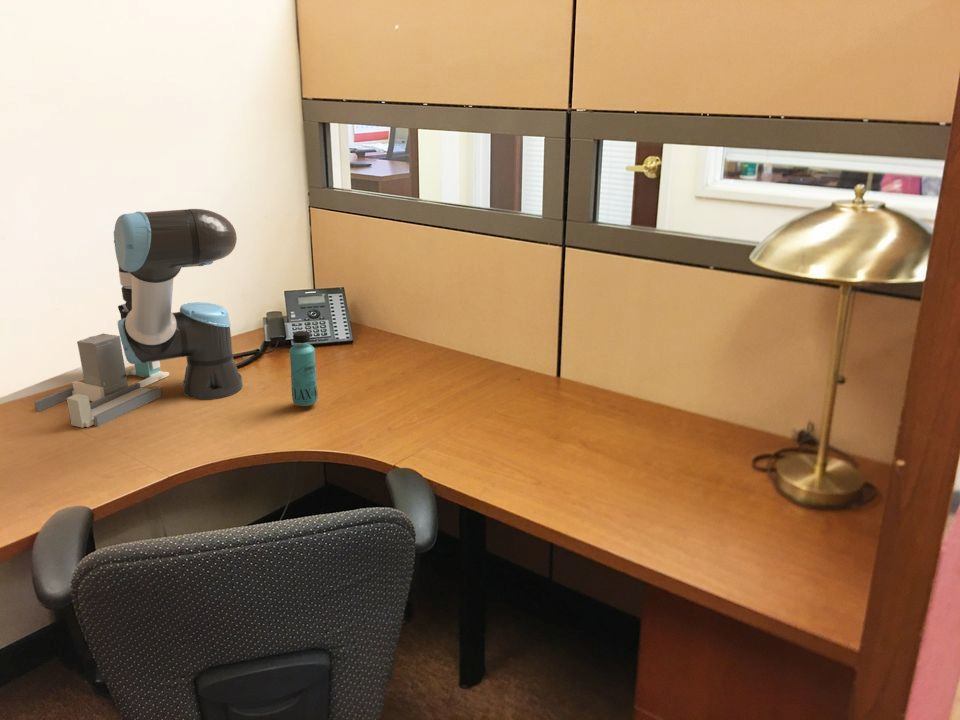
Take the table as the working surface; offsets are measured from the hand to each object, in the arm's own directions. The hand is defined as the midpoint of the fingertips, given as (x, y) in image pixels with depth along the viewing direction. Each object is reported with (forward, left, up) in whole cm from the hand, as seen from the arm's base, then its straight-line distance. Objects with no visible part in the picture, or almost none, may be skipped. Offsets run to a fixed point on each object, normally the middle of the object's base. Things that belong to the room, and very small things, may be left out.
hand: (147, 366), depth 211 cm
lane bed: (-3, +20, -3) cm, 20 cm away
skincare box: (-1, +15, -3) cm, 15 cm away
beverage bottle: (-51, -1, -3) cm, 52 cm away
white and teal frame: (0, +9, -2) cm, 10 cm away
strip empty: (-10, +21, -2) cm, 23 cm away
